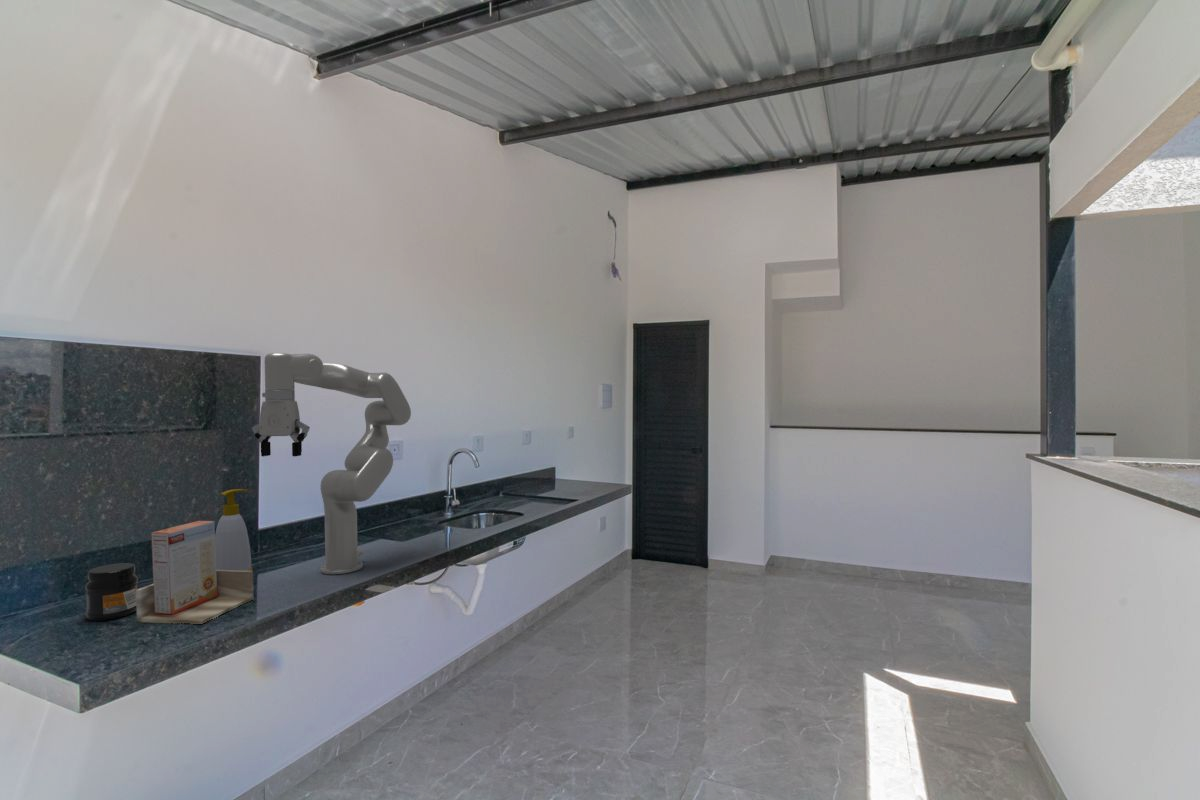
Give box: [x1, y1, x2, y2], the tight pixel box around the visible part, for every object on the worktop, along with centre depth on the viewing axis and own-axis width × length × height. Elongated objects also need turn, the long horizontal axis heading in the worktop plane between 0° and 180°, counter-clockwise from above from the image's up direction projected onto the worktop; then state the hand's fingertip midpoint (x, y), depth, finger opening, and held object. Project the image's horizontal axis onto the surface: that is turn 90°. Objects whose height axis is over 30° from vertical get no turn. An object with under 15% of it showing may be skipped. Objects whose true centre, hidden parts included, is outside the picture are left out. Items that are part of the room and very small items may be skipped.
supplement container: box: [85, 562, 139, 622], centre depth 158 cm, size 10×10×12 cm
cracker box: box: [150, 520, 217, 615], centre depth 161 cm, size 14×6×21 cm, turn 167°
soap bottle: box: [215, 488, 254, 571], centre depth 193 cm, size 11×12×26 cm
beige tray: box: [136, 570, 254, 625], centre depth 161 cm, size 18×18×8 cm
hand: (281, 455), depth 177 cm, fingers open, 9 cm apart
